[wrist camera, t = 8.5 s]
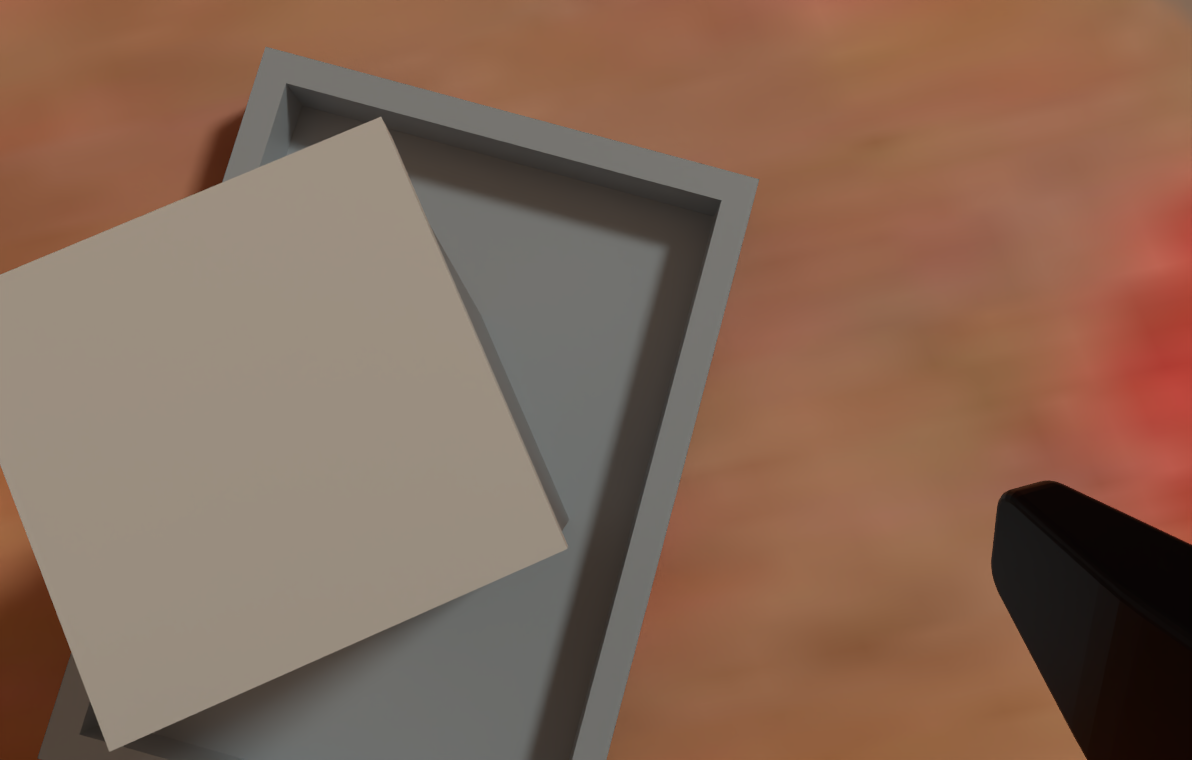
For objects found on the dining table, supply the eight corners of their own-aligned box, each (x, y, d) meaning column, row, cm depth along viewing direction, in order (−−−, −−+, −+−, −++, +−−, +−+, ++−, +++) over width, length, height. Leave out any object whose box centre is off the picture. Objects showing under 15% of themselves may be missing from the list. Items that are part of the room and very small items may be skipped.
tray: (568, 873, 21) (567, 908, 19) (83, 736, 21) (37, 758, 20) (745, 204, 23) (759, 179, 21) (290, 82, 23) (265, 46, 21)
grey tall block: (576, 522, 21) (568, 550, 10) (356, 619, 21) (110, 752, 10) (483, 307, 22) (381, 116, 11) (267, 400, 21) (-63, 300, 11)
